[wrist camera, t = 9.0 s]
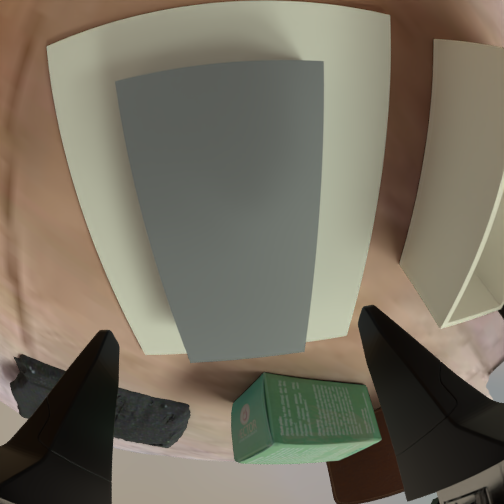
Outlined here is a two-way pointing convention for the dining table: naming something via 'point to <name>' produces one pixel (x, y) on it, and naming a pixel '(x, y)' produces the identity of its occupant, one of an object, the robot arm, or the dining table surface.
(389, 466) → the letter holder
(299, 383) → the box
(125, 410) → the dark slate chunk
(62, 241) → the dining table surface
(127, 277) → the pale cream mat
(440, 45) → the base
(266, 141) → the grey rectangular block
